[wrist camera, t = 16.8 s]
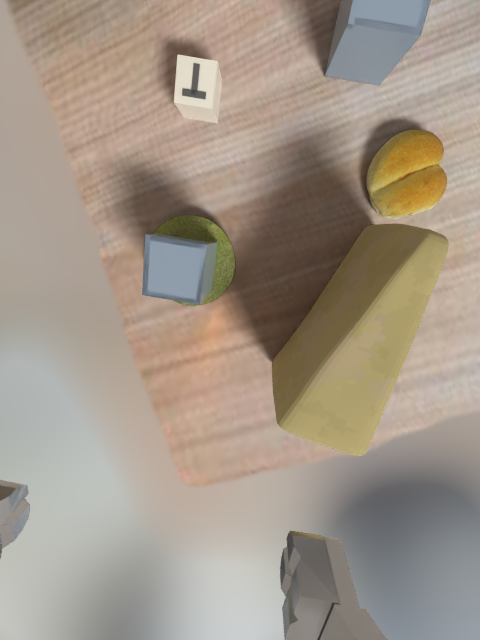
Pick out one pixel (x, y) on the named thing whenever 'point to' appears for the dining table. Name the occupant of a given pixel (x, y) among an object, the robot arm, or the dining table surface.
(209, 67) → the letter cube
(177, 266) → the grey stool
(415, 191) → the bread roll
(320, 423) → the cheese
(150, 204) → the dining table surface
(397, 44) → the gray notched block
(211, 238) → the mat
